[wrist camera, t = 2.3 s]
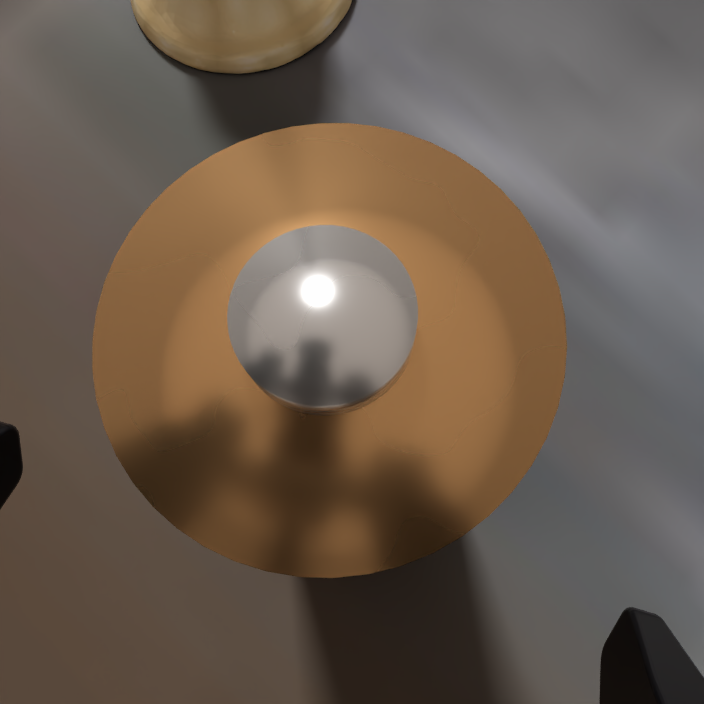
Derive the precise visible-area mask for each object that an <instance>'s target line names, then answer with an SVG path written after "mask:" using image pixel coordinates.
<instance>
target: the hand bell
mask: <svg viewBox="0 0 704 704" xmlns="http://www.w3.org/2000/svg"><path fill="white" fill-rule="evenodd" d="M351 2H352V0H131V5H132V9H133V12H134V15H135V17H136V20H137V22H138V24H139V25H140V27H141V29H142V30H143V32H144V33H145V35H146V36H147V37H148V38H149V39H150V40H151V41H152V43H153V44H154V45H156V46H157V47H158V48H159V49H160V50H162V51H163V52H164V53H165V54H166V55H168V56H170V57H172V58H173V59H175V60H178V61H180V62H181V63H183V64H185V65H188V66H191V67H193V68H197V69H200V70H205V71H210V72H219V73H235V74H241V73H251V72H259V71H261V70H267V69H271V68H275V67H278V66H281V65H284V64H286V63H288V62H290V61H292V60H294V59H296V58H299V57H300V56H302V55H303V54H305V53H306V52H308V51H310V50H311V49H312V48H314V47H315V46H316V45H318V44H320V43H321V42H322V41H323V40H324V39H326V38H327V37H328V36H329V35H330V34H331V33H332V32H333V30H334V29H335V28H336V27H337V26H338V24H339V23H340V21H341V20H342V19H343V18H344V16H345V14H346V13H347V11H348V10H349V7H350V5H351Z"/></svg>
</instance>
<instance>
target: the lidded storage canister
mask: <svg viewBox="0 0 704 704" xmlns="http://www.w3.org/2000/svg"><path fill="white" fill-rule="evenodd" d="M566 352H567V340H566V324H565V314H564V309H563V304H562V299H561V294H560V290H559V286H558V283H557V280H556V277H555V274H554V272H553V269H552V266H551V263H550V260H549V258H548V256H547V254H546V252H545V250H544V248H543V246H542V244H541V243H540V241H539V239H538V237H537V235H536V233H535V232H534V230H533V229H532V227H531V226H530V224H529V223H528V221H527V220H526V219H525V217H524V216H523V214H522V213H521V211H520V210H519V209H518V208H517V207H516V206H515V204H514V203H513V202H512V201H511V200H510V199H509V198H508V197H507V196H506V194H505V193H504V192H503V191H502V190H501V189H500V188H499V187H498V186H496V185H495V184H494V183H493V182H492V181H491V180H489V179H488V178H487V177H486V176H485V175H484V174H483V173H481V172H480V171H479V170H477V169H476V168H474V167H473V166H471V165H470V164H468V163H467V162H465V161H464V160H462V159H461V158H459V157H458V156H456V155H455V154H453V153H451V152H449V151H447V150H445V149H443V148H441V147H439V146H437V145H435V144H433V143H431V142H428V141H425V140H422V139H420V138H417V137H414V136H411V135H409V134H406V133H402V132H398V131H394V130H390V129H385V128H381V127H377V126H368V125H359V124H350V123H319V124H310V125H302V126H293V127H288V128H284V129H280V130H275V131H271V132H267V133H263V134H261V135H258V136H255V137H252V138H249V139H246V140H244V141H241V142H238V143H236V144H234V145H232V146H230V147H228V148H226V149H224V150H222V151H220V152H218V153H216V154H213V155H212V156H210V157H209V158H207V159H206V160H204V161H202V162H201V163H199V164H198V165H196V166H195V167H193V168H191V169H190V170H189V171H187V172H186V173H185V174H184V175H182V176H181V177H180V178H179V179H177V180H176V181H175V182H174V183H173V184H171V185H170V186H169V187H168V188H167V189H166V190H165V191H164V192H163V193H162V194H161V195H160V196H159V197H158V198H157V199H156V200H155V201H154V202H153V203H152V204H151V205H150V206H149V207H148V208H147V210H146V211H145V212H144V214H143V215H142V216H141V217H140V219H139V220H138V221H137V223H136V224H135V225H134V227H133V228H132V229H131V231H130V232H129V234H128V236H127V237H126V239H125V241H124V243H123V244H122V246H121V248H120V249H119V251H118V253H117V255H116V257H115V259H114V261H113V264H112V266H111V268H110V271H109V273H108V275H107V278H106V280H105V283H104V286H103V290H102V293H101V297H100V300H99V304H98V308H97V312H96V319H95V326H94V333H93V352H92V370H93V377H94V385H95V393H96V399H97V403H98V407H99V410H100V414H101V418H102V421H103V425H104V428H105V431H106V433H107V435H108V437H109V440H110V442H111V444H112V447H113V449H114V451H115V454H116V456H117V457H118V459H119V461H120V462H121V464H122V466H123V467H124V469H125V470H126V472H127V474H128V475H129V477H130V479H131V480H132V482H133V483H134V484H135V486H136V487H137V488H138V489H139V490H140V492H141V493H142V494H143V495H144V496H145V498H146V499H147V500H148V501H149V502H150V504H151V505H152V506H153V507H154V508H155V509H156V510H157V511H158V512H159V513H161V514H162V515H163V516H164V517H165V518H166V519H167V520H168V521H169V522H171V523H172V524H173V525H174V526H175V527H176V528H177V529H179V530H180V531H182V532H183V533H185V534H186V535H188V536H189V537H191V538H192V539H194V540H195V541H197V542H198V543H200V544H201V545H203V546H204V547H206V548H208V549H210V550H212V551H214V552H216V553H219V554H221V555H223V556H225V557H227V558H229V559H231V560H233V561H236V562H239V563H242V564H245V565H248V566H251V567H254V568H258V569H261V570H264V571H268V572H274V573H280V574H285V575H291V576H297V577H319V578H338V577H347V576H356V575H366V574H371V573H375V572H379V571H383V570H387V569H391V568H395V567H399V566H402V565H405V564H407V563H410V562H412V561H415V560H417V559H420V558H422V557H424V556H427V555H429V554H432V553H434V552H436V551H437V550H439V549H441V548H443V547H444V546H446V545H448V544H450V543H451V542H453V541H455V540H457V539H458V538H460V537H462V536H463V535H465V534H466V533H467V532H468V531H470V530H471V529H472V528H474V527H475V526H476V525H477V524H479V523H480V522H481V521H483V520H484V519H485V518H487V517H488V516H489V515H490V514H491V513H492V512H493V511H494V510H495V509H496V508H497V507H498V506H499V505H500V504H501V503H502V502H503V501H504V500H505V499H506V498H507V497H508V496H509V495H510V494H511V493H512V491H513V490H514V489H515V487H516V486H517V485H518V483H519V482H520V481H521V479H522V478H523V477H524V475H525V474H526V472H527V471H528V470H529V468H530V467H531V466H532V464H533V462H534V460H535V458H536V456H537V455H538V453H539V451H540V449H541V447H542V445H543V444H544V442H545V440H546V438H547V436H548V433H549V430H550V428H551V425H552V422H553V419H554V417H555V414H556V411H557V409H558V405H559V400H560V396H561V391H562V387H563V382H564V378H565V365H566Z"/></svg>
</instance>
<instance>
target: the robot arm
mask: <svg viewBox="0 0 704 704" xmlns="http://www.w3.org/2000/svg"><path fill="white" fill-rule="evenodd" d="M22 470H23V463H22V455H21V446H20V438H19V432H18V430H17V429H16V427H15V426H13V425H11V424H7V423H4V422H0V509H1V508H2V506H3V505H4V503H5V502H6V500H7V499H8V497H9V496H10V494H11V493H12V491H13V490H14V488H15V487H16V486H17V484H18V482H19V480H20V478H21V475H22ZM600 704H704V677H703V676H702V674H701V673H700V672H699V670H698V669H697V667H696V666H695V664H694V663H693V662H692V660H691V659H690V657H689V656H688V655H687V653H686V652H685V650H684V649H683V647H682V646H681V645H680V643H679V642H678V640H677V639H676V637H675V636H674V635H673V633H672V632H671V630H670V629H669V628H668V626H667V625H666V623H665V622H664V621H663V619H662V618H661V617H659V616H658V615H656V614H654V613H650V612H647V611H644V610H640V609H637V608H633V607H629V608H626V609H625V610H624V611H623V613H622V614H621V616H620V617H619V619H618V621H617V623H616V624H615V626H614V628H613V630H612V631H611V633H610V635H609V637H608V638H607V640H606V642H605V644H604V647H603V650H602V655H601V669H600Z"/></svg>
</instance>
